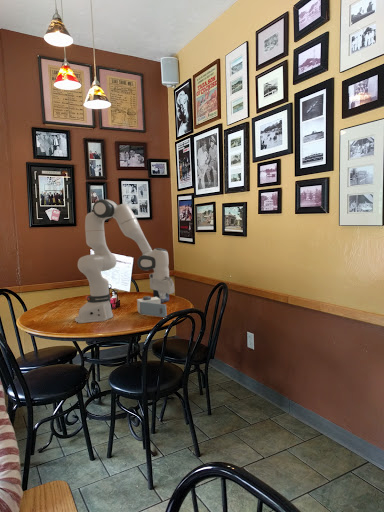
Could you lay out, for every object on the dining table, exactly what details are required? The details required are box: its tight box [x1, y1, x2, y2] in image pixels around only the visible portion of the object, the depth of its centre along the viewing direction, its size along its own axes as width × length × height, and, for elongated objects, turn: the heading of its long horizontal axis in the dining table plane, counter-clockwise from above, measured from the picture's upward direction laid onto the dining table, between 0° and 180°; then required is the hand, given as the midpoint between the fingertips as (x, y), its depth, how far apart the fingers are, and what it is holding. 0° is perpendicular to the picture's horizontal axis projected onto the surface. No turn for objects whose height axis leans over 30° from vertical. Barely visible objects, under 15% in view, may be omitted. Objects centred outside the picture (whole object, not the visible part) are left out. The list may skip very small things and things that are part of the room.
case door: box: [140, 302, 168, 318], centre depth 213 cm, size 20×2×8 cm, turn 58°
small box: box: [152, 289, 170, 304], centre depth 251 cm, size 11×6×10 cm, turn 146°
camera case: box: [136, 295, 162, 315], centre depth 226 cm, size 13×8×10 cm, turn 114°
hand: (162, 298), depth 211 cm, fingers closed
